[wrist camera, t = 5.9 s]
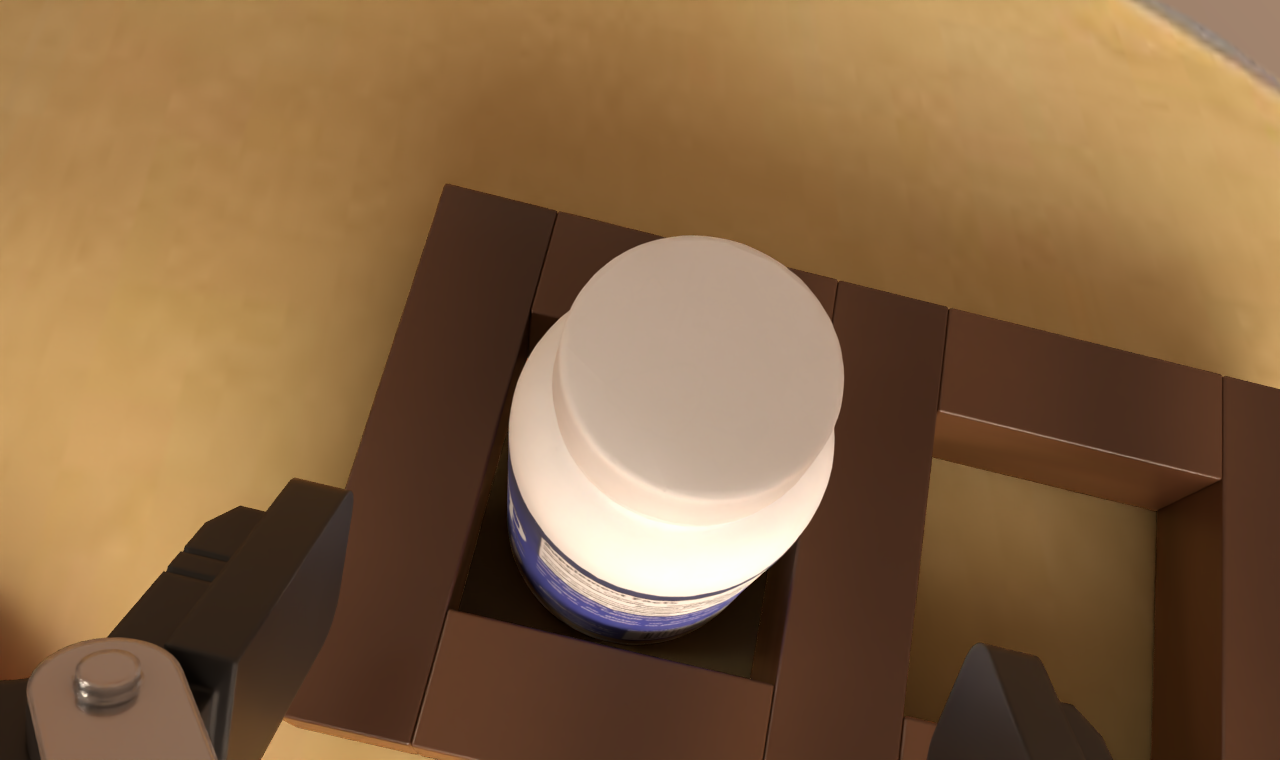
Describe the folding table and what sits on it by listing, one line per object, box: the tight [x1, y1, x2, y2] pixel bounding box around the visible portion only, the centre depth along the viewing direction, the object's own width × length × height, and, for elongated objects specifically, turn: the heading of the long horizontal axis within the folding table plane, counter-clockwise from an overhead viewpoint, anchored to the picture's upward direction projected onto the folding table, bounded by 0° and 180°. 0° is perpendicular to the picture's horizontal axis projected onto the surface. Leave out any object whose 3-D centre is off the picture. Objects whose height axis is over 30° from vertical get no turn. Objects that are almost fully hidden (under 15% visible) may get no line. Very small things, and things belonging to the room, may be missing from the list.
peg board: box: [283, 184, 1280, 760], centre depth 22 cm, size 19×11×2 cm, turn 78°
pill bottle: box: [507, 235, 844, 645], centre depth 19 cm, size 5×5×9 cm
